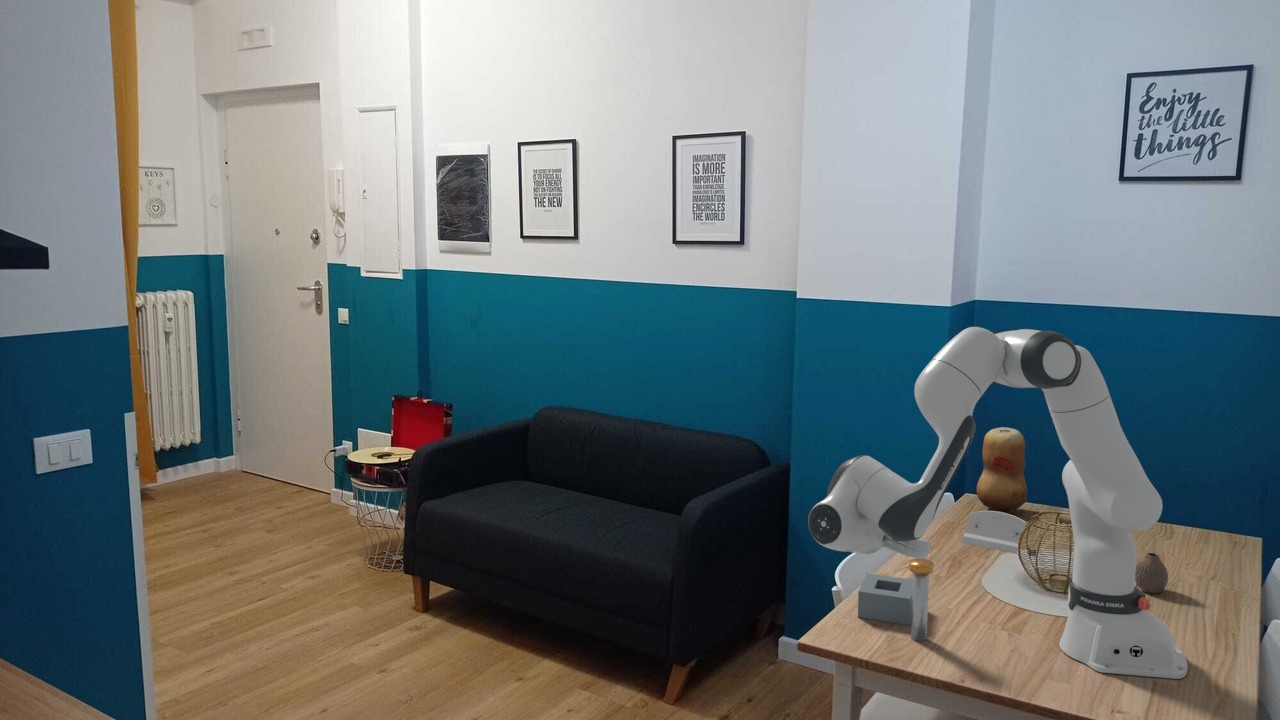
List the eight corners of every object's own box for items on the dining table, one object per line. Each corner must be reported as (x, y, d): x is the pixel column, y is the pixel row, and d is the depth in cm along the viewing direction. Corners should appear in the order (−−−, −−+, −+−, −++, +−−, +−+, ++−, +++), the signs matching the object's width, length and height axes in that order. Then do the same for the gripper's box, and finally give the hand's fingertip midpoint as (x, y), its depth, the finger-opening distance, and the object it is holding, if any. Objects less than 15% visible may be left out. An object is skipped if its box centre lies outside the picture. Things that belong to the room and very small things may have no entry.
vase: (1159, 599, 208) (1162, 562, 207) (1128, 589, 213) (1130, 554, 212) (1171, 590, 213) (1174, 554, 211) (1140, 582, 218) (1143, 546, 216)
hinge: (960, 542, 246) (966, 505, 247) (965, 543, 249) (971, 506, 251) (1025, 555, 235) (1031, 517, 237) (1030, 556, 239) (1035, 518, 240)
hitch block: (915, 605, 206) (916, 580, 205) (909, 625, 196) (910, 598, 196) (866, 597, 211) (866, 573, 210) (857, 617, 201) (858, 591, 200)
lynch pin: (931, 635, 192) (934, 560, 189) (929, 645, 187) (932, 568, 185) (908, 631, 194) (910, 557, 191) (905, 641, 189) (907, 565, 187)
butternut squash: (974, 515, 267) (978, 432, 264) (977, 502, 280) (980, 422, 276) (1025, 520, 262) (1030, 436, 258) (1026, 507, 274) (1030, 425, 270)
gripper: (918, 533, 167) (946, 538, 177) (823, 497, 180) (854, 503, 191) (907, 566, 167) (936, 569, 177) (813, 527, 180) (845, 532, 191)
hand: (893, 534), depth 184 cm, fingers open, 8 cm apart
